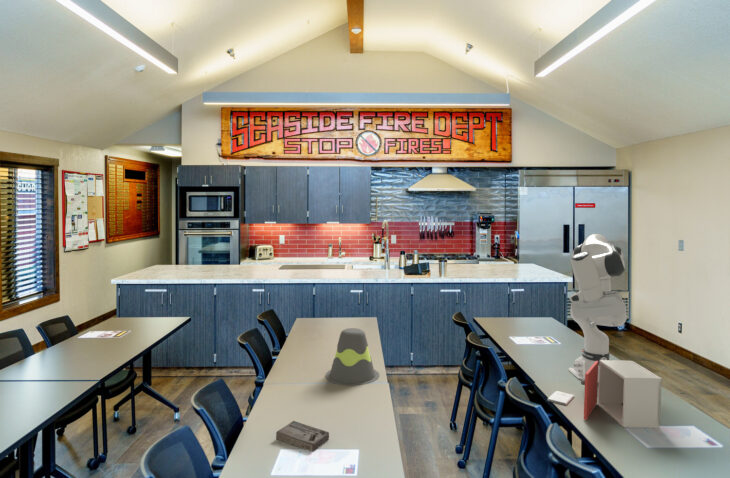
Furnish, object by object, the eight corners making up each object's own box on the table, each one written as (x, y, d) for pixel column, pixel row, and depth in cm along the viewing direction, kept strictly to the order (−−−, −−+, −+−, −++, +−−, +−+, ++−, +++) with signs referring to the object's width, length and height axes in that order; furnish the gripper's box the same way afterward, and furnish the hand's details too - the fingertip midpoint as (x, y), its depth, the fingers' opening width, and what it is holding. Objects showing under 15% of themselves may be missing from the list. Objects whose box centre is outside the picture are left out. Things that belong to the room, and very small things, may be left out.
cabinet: (598, 404, 209) (599, 360, 208) (630, 404, 208) (631, 360, 207) (623, 427, 187) (625, 377, 186) (659, 427, 186) (661, 378, 185)
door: (590, 401, 210) (592, 360, 209) (596, 403, 209) (598, 361, 208) (579, 418, 194) (580, 372, 192) (586, 419, 192) (587, 374, 191)
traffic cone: (390, 378, 241) (390, 331, 239) (343, 389, 225) (343, 340, 223) (360, 363, 263) (360, 321, 262) (315, 373, 248) (315, 328, 246)
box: (293, 427, 185) (293, 420, 184) (329, 439, 176) (329, 431, 176) (275, 439, 175) (275, 431, 175) (312, 453, 167) (312, 444, 167)
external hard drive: (547, 402, 213) (555, 393, 222) (566, 406, 207) (574, 398, 217) (547, 398, 212) (555, 390, 222) (566, 403, 207) (574, 394, 217)
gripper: (622, 287, 179) (634, 322, 179) (572, 293, 195) (583, 325, 195) (615, 292, 175) (627, 327, 175) (565, 298, 191) (576, 330, 191)
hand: (603, 326), depth 185 cm, fingers open, 8 cm apart
